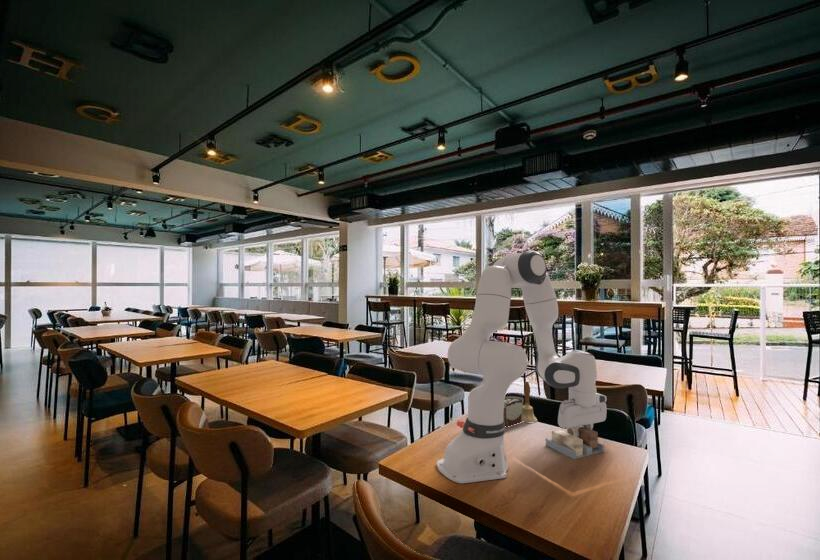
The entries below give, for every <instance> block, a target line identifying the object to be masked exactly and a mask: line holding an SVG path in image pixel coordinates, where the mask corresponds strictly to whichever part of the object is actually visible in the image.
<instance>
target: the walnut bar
mask: <svg viewBox="0 0 820 560" xmlns="http://www.w3.org/2000/svg"><path fill="white" fill-rule="evenodd" d="M566 431H567V433H569V434H571V435H573V436H574V433H573V431H572V429H571V428H570V429H566ZM578 432H579V433H580V434H581V436H580V437H581V438H580V439H582V440H583V444H585V445H587V446H590V447H592V448H596V447H598V442H599V441H598V440H599V436H598V435H599V432H598V431H595V429H592V430H591V429H589V428H587V427H586V425H584V426H579V429H578Z"/></svg>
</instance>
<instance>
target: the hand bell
mask: <svg viewBox="0 0 820 560" xmlns="http://www.w3.org/2000/svg"><path fill="white" fill-rule="evenodd" d="M523 393H524V396H525V397H524V404H523V409H522V421H524V422H535V423H537V422H538V419H537V417H536V416H535V414H534V407H533V406H531V405H530V394H531V386H530V383H529V381H525V382H524V386H523ZM524 422H523V423H524Z"/></svg>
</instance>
